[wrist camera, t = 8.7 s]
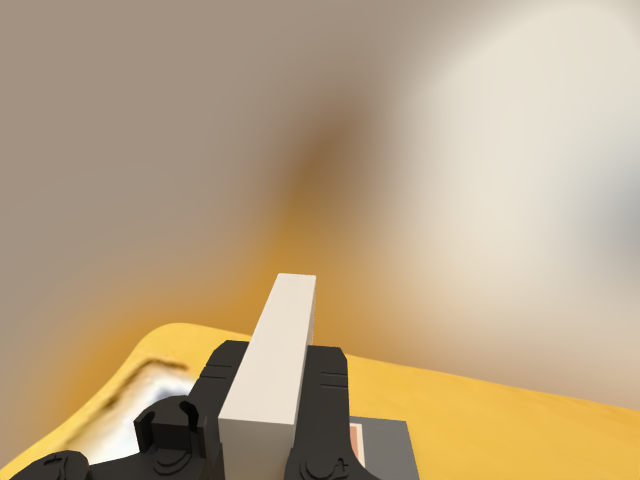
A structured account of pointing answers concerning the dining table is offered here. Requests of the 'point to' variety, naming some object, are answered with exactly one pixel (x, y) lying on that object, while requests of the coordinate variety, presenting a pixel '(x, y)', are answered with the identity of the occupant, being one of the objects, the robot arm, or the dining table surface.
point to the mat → (387, 449)
